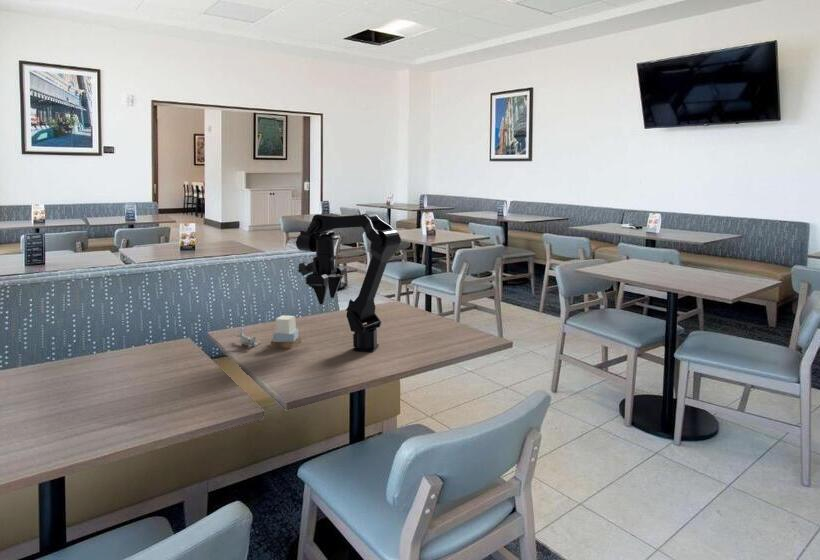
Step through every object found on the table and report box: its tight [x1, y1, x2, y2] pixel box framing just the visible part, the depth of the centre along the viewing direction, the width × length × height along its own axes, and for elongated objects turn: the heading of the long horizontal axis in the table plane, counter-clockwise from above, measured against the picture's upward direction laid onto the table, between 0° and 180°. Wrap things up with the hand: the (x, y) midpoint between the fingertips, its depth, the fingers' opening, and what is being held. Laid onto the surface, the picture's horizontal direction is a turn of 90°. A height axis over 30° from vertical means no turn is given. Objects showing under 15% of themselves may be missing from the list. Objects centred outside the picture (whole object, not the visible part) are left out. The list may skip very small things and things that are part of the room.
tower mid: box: [272, 327, 299, 342], centre depth 185 cm, size 6×6×2 cm
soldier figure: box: [235, 327, 261, 347], centre depth 185 cm, size 8×5×12 cm
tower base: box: [270, 335, 302, 350], centre depth 185 cm, size 7×7×2 cm
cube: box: [275, 314, 297, 334], centre depth 184 cm, size 4×4×4 cm
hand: (326, 301), depth 188 cm, fingers open, 9 cm apart
